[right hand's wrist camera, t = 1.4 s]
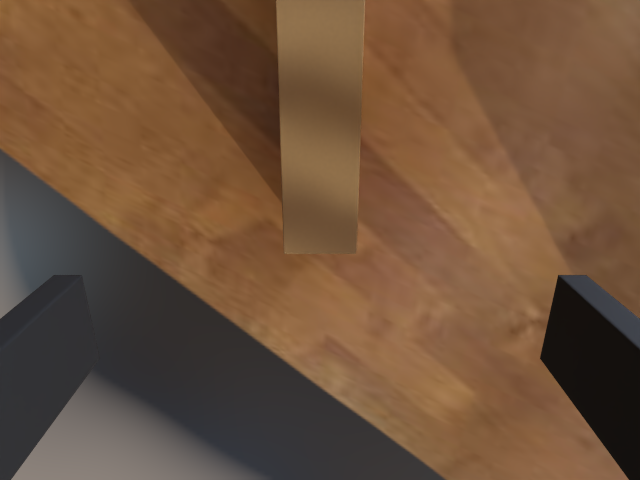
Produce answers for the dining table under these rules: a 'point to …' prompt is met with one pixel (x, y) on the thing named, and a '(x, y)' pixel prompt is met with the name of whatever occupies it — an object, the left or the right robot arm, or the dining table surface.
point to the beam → (320, 122)
